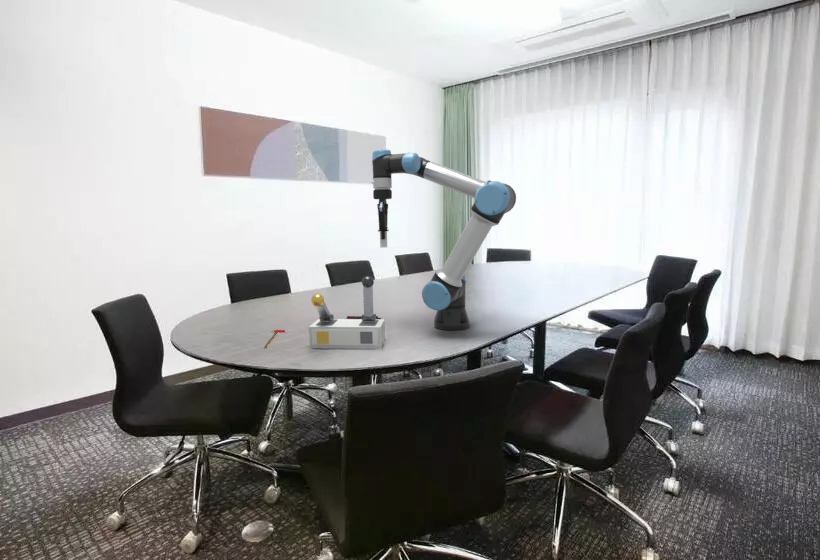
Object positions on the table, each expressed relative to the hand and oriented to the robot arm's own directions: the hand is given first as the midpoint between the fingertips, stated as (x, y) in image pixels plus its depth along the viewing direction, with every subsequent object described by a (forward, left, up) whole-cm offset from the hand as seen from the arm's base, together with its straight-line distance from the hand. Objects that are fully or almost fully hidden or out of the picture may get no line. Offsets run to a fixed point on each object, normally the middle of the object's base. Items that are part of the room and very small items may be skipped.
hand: (383, 247), depth 183 cm
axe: (+44, +17, -35) cm, 59 cm away
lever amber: (+19, +22, -25) cm, 39 cm away
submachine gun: (+17, -2, -35) cm, 39 cm away
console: (+11, +23, -34) cm, 43 cm away
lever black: (+3, +23, -26) cm, 35 cm away
